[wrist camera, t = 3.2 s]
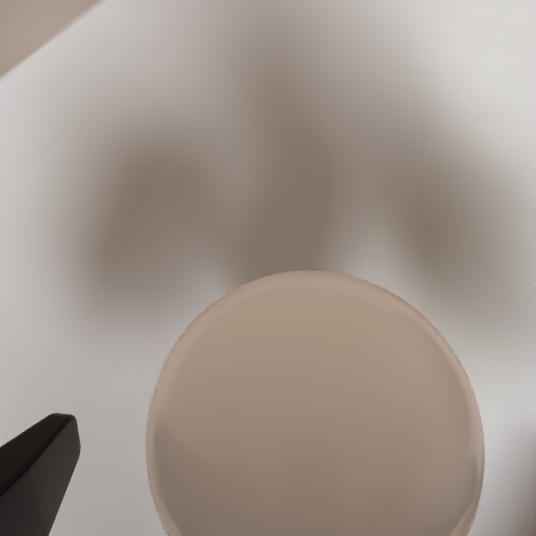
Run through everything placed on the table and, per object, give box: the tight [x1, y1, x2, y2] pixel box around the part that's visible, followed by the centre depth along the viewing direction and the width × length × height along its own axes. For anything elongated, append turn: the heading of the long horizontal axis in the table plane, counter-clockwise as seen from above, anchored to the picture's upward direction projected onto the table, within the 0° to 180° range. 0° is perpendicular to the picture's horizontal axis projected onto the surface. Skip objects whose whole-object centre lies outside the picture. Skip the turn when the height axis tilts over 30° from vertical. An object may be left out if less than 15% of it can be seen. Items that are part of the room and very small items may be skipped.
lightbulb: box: [145, 270, 485, 536], centre depth 11 cm, size 6×6×11 cm
